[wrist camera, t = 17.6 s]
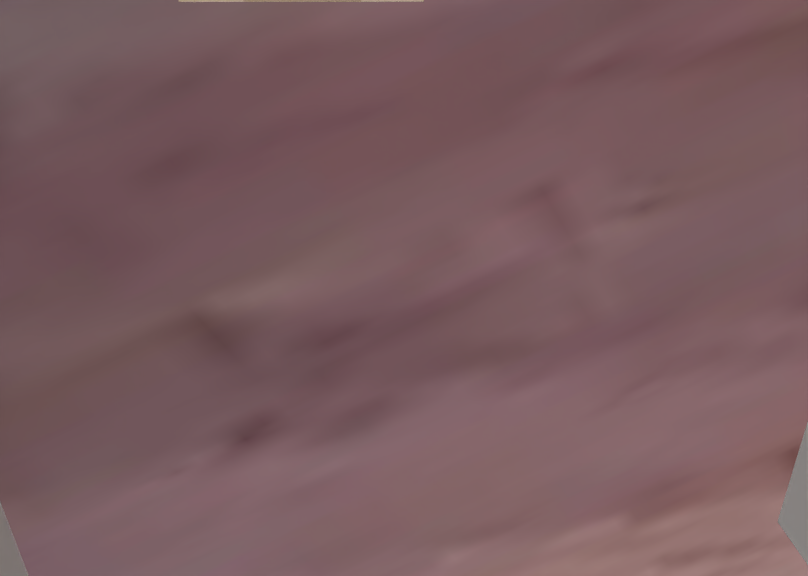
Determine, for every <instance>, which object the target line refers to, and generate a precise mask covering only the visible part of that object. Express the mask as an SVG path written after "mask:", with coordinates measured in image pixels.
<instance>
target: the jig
mask: <svg viewBox="0 0 808 576" xmlns="http://www.w3.org/2000/svg"><path fill="white" fill-rule="evenodd" d="M381 1H424V0H179V2H381Z"/></svg>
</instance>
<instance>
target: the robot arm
mask: <svg viewBox="0 0 808 576" xmlns="http://www.w3.org/2000/svg"><path fill="white" fill-rule="evenodd" d="M778 523H779V524H780V526H781V527H782V529H783V530H784V532H785V533H786V534H787V536H788V537H789V539H790V540H791V542H792V543H793V544H794V546H795V547H796V549H797V550H798V552H799V553H800V555H801V556H802V557H803V559H804V560H805V562H806V563H807V565H808V423H807V426H806V429H805V433H804V436H803V439H802V442H801V446H800V449H799V452H798V456H797V459H796V462H795V466H794V469H793V472H792V476H791V479H790V482H789V486H788V489H787V492H786V495H785V499H784V502H783V505H782V509H781V512H780V515H779V519H778ZM0 576H28V573H27V570H26V568H25V565H24V563H23V560H22V557H21V555H20V552H19V550H18V547H17V544H16V542H15V539H14V536H13V534H12V531H11V529H10V526H9V523H8V521H7V518H6V516H5V513H4V510H3V508H2V505H1V502H0Z"/></svg>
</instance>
